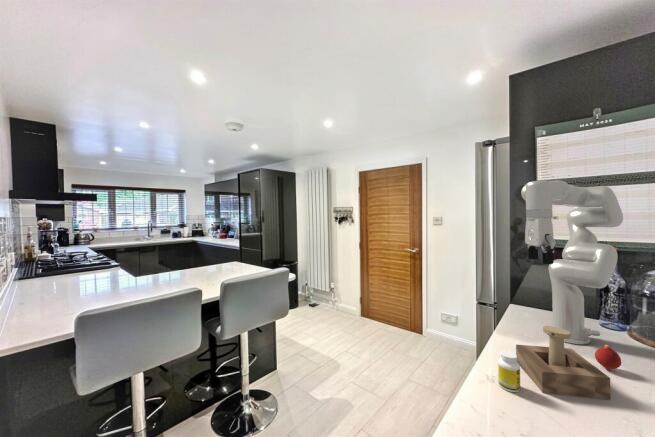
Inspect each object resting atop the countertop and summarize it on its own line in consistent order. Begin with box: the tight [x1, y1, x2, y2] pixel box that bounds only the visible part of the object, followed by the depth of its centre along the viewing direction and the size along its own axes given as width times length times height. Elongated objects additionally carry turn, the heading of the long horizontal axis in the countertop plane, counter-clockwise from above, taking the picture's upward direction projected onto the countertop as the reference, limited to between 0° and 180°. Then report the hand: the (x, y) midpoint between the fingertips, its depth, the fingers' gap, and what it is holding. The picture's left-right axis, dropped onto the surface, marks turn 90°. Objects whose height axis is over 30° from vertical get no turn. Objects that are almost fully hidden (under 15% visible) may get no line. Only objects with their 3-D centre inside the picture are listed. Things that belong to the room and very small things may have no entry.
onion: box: [594, 344, 622, 371], centre depth 85 cm, size 6×6×8 cm
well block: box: [515, 344, 612, 401], centre depth 81 cm, size 16×16×6 cm
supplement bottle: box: [497, 350, 521, 393], centre depth 78 cm, size 5×5×10 cm
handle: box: [542, 325, 570, 367], centre depth 82 cm, size 5×6×15 cm
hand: (540, 261), depth 97 cm, fingers open, 9 cm apart
